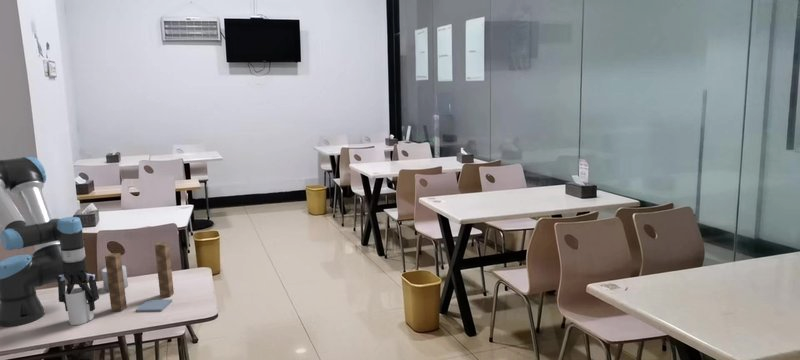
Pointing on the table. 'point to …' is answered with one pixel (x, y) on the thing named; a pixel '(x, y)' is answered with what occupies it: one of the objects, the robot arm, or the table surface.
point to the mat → (153, 305)
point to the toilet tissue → (105, 279)
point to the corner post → (115, 281)
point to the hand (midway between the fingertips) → (81, 318)
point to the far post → (164, 269)
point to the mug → (76, 306)
